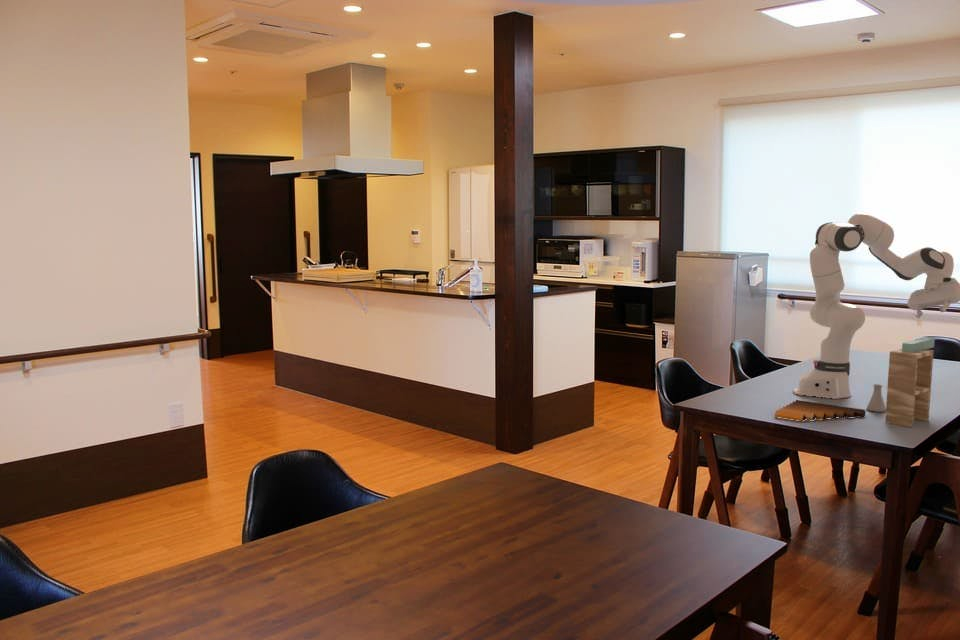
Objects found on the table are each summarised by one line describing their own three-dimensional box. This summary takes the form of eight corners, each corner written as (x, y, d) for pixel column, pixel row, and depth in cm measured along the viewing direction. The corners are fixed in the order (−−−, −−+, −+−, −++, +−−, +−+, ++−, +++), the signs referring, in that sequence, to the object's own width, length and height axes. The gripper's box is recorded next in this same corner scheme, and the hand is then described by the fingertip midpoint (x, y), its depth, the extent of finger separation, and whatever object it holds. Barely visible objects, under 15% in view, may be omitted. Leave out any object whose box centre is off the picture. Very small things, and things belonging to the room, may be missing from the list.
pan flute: (865, 417, 297) (797, 407, 313) (865, 408, 296) (797, 399, 312) (845, 431, 278) (774, 419, 294) (846, 421, 277) (774, 410, 293)
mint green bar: (924, 346, 297) (925, 337, 296) (934, 347, 294) (934, 338, 294) (901, 351, 284) (902, 343, 284) (911, 352, 282) (911, 344, 281)
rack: (902, 415, 297) (907, 347, 294) (928, 420, 290) (933, 350, 287) (885, 422, 288) (889, 351, 284) (911, 427, 281) (916, 354, 278)
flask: (862, 410, 306) (864, 384, 305) (869, 407, 311) (871, 382, 310) (882, 413, 301) (884, 387, 300) (889, 410, 306) (891, 384, 305)
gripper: (907, 286, 333) (901, 313, 327) (958, 276, 316) (952, 304, 310) (916, 295, 335) (909, 321, 329) (966, 286, 318) (960, 313, 312)
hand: (930, 313), depth 320 cm, fingers open, 8 cm apart
